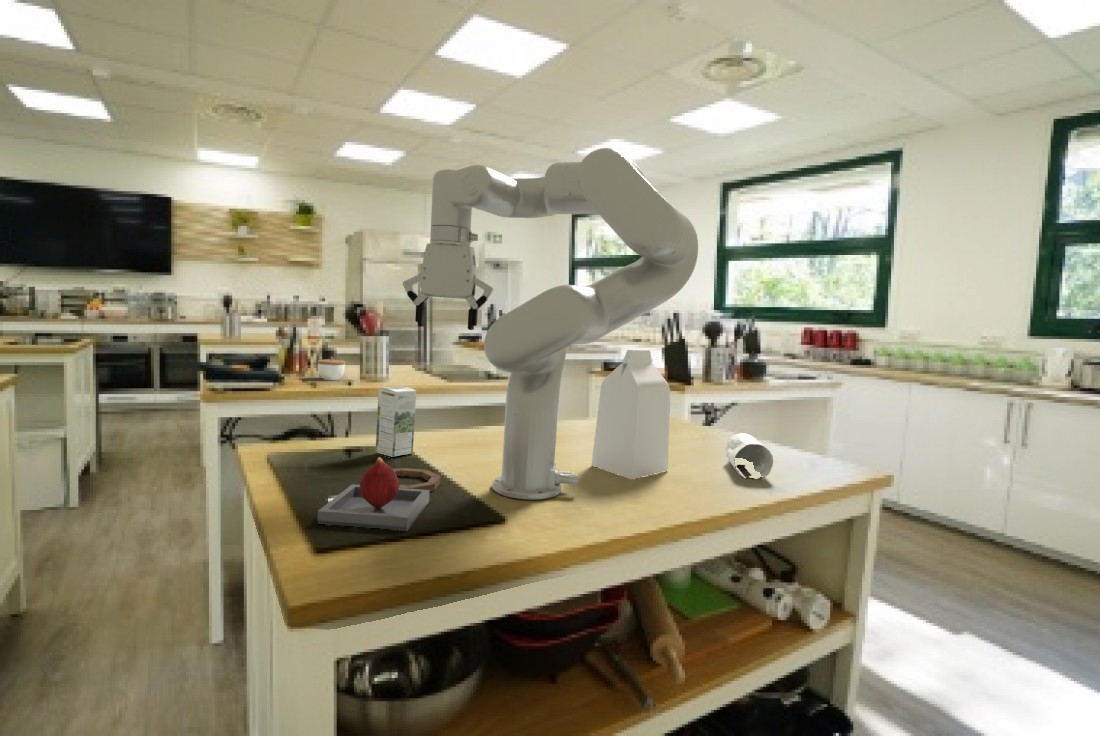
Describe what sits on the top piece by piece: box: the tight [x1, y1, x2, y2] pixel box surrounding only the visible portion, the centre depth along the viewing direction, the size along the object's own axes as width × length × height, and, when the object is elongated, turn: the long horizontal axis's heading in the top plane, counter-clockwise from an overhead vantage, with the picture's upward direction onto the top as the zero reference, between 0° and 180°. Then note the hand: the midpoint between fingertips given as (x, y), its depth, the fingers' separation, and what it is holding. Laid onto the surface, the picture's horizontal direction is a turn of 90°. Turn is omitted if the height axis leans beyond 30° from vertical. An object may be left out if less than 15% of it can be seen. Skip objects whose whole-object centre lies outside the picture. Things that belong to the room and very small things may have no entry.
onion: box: [359, 457, 400, 509], centre depth 88 cm, size 6×6×8 cm
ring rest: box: [392, 467, 442, 492], centre depth 103 cm, size 12×12×1 cm
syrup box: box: [375, 386, 417, 457], centre depth 123 cm, size 6×6×14 cm
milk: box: [591, 349, 671, 480], centre depth 123 cm, size 12×12×26 cm
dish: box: [316, 483, 431, 532], centre depth 88 cm, size 13×13×2 cm
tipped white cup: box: [724, 432, 774, 478], centre depth 130 cm, size 8×19×8 cm, turn 172°
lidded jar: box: [317, 356, 346, 381], centre depth 234 cm, size 11×11×9 cm
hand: (446, 328), depth 110 cm, fingers open, 9 cm apart
